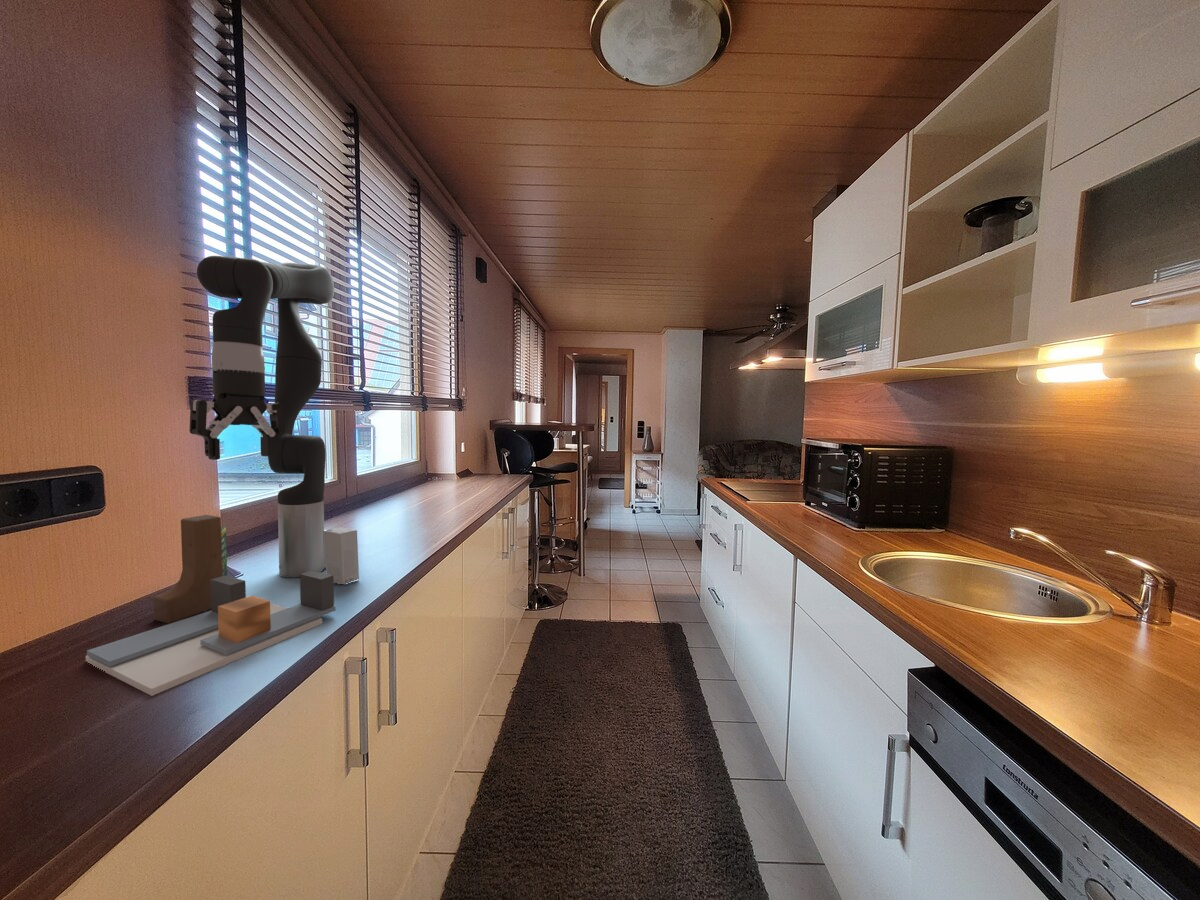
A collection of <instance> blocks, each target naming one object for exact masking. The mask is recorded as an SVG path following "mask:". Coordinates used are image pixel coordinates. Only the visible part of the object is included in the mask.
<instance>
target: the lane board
mask: <svg viewBox="0 0 1200 900" xmlns="http://www.w3.org/2000/svg"><path fill="white" fill-rule="evenodd" d="M287 608H288V607H285V606H282V605H278V604H276V603H272V602H270V615H271V614H273V613H276V612H279V611H282V610H284V609H287ZM322 624H323V618H322V617H319V618H316V619H314V620H311V621H309V622H306V623H304V624H301V625H299V626H297V627H294V628H292V629H289V630H287V631H284V632H282V633H279V634H277V635H275V636H272V637H270V638H267V639H265V640H262V641H260V642H257V643H255V644H252V645H250V646H248V647H245V648H243V649H240V650H238V651H235V652H233V653H230V654H228V655H225V654H222V653H220V652H217V651H215V650H212V649H209V648H207V647H204V646H202V645H200V640H202V639H205V638H208V637H210V636H213V635H216V634H219V630H218V629H215V630H212V631H209V632H206V633H203V634H201V635H198V636H195V637H192V638H189V639H187V640H184V641H181V642H178V643H175V644H172V645H170V646H167V647H164V648H161V649H158V650H156V651H153V652H150V653H147V654H144V655H142V656H139V657H136V658H133V659H130V660H127V661H125V662H122V663H119V664H116V665H113V666H111V667H109V666H107V665H105V664H103V663H101V662H99V661H97V660H95V659H93V658H91V657H89V656H87V655H85V662H86V661H87V662H88V663H90V664H92V665H93V667H94V666H95V668H96V667H97V668H96V669H98V668H99V669H98V670H100V669H101V670H100V671H102V670H103V671H102V672H104V671H105V672H104V673H106V674H108V675H110V676H112V677H113V678H116V679H117V680H119V681H122V682H124V683H126V684H128V685H130V686H132V687H133V688H135V689H138V690H139V691H142V692H143V693H145V694H147V695H150V696H151V697H153V696H155V695H158V694H160V693H162V692H164V691H167V690H169V689H172V688H174V687H176V686H179V685H181V684H183V683H185V682H188V681H190V680H192V679H195V678H197V677H200V676H202V675H204V674H207V673H209V672H212V671H214V670H216V669H219V668H221V667H223V666H226V665H227V664H228V665H229V664H230V663H232V662H235V661H237V660H240V659H242V658H244V657H247V656H249V655H252V654H254V653H257V652H259V651H260V650H263V649H265V648H268V647H270V646H273V645H275V644H277V643H279V642H282V641H284V640H287V639H289V638H292V637H294V636H296V635H299V634H302V633H304V632H305V631H308V630H310V629H313V628H315V627H318V626H321V625H322ZM88 663H87V664H88ZM90 664H89V665H90ZM92 665H91V666H92Z"/></svg>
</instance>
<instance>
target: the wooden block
mask: <svg viewBox="0 0 1200 900" xmlns="http://www.w3.org/2000/svg"><path fill="white" fill-rule="evenodd" d="M221 520H222V518H221V516H216V515H211V514H210V515H209V514H203V515H202V514H201V515H197V516H190V517H186V518H181V520H180V535H181V536H180V537H181V539H180V540H181V542H180V543H181V559H182V560H181V565H182V567H181V568H182V570H181V572H180V573H181V574H180V577H179V580H178V581H177V582H176V583H175V584H174V585H173V586H172V588H171V589H168V590H167V591H164V592H162V593H159V594H157V595H155V596H153V597H152V601H153V602H152V604H153V619H154V620H155V621H158V622H162V623H165V624H166V625H168V624H171V623H174V622H177V621H180V620H183V619H186V618H190V617H193V616H196V615H199V614H202V613H205V612H208V611H211V579H214V578H218V577H222V576H223V574H222V541H221V527H222V521H221Z"/></svg>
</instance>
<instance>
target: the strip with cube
mask: <svg viewBox="0 0 1200 900" xmlns="http://www.w3.org/2000/svg"><path fill="white" fill-rule="evenodd" d="M299 585H300V587H299V591H300V593H299V595H300V598H299V599H300V603H299V604H295V605H293V606H290V607H286V608H287V609H284V610H282V611H279V612H276V613H273V614H271V615H270V622H271V630H269V631H266V632H263V633H261V634H258V635H256V636H253V637H251V638H248V639H246V640H243V641H241V642H238V643H236V642H233V641H231V640H228V639H225V638H223V637H220V636H219V634H216V635H213V636H210V637H208V638H205V639H202V640H200V645H202V646H204V647H207V648H209V649H212V650H215V651H217V652H220V653H222V654H225V655H228V654H230V653H233V652H235V651H238V650H240V649H243V648H245V647H248V646H250V645H252V644H255V643H257V642H260V641H262V640H265V639H267V638H270V637H272V636H275V635H277V634H279V633H282V632H284V631H287V630H289V629H292V628H294V627H297V626H299V625H301V624H304V623H306V622H309V621H311V620H314V619H316V618H322V617H323V616H326V615H328V614H330V613H333V612H335V611H336V609H337V608H336V605H335V601H334V598H335V597H334V591H335V590H334V587H335V586H334V583H333V575H330V574H327V573H325V572H322V571H321V572H317V571H313V570H312V571H309V572H305V573H302V574H300V577H299Z"/></svg>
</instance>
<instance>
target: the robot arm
mask: <svg viewBox="0 0 1200 900" xmlns="http://www.w3.org/2000/svg"><path fill="white" fill-rule="evenodd" d="M196 275H197V279H198V281H199V283H200V284H201V286H202V287H203V288H204V289H205V290H206V291H207V292H208V293H210V294H212V295H214V296H216V297H219V298H227V299H228V298H229V299H240V301H239V302H238V304H237V305H236V306H233V307H231V308H225V309H219V310H216V311H215V312H214V313H213V315H212V342H213V343H212V352H211V372H212V373H211V379H212V394H213V398H212V400H211V401H209V400H208V401H207V400H204V399H192V400H191V401H190V408H189V409H190V411H189V412H190V413H189V433H190V434H191V435H196V436H199V437H202V438H203V441H204V443H203V444H204V455H205V456H206V457H208V459H209V460H212V461H215V460H220V459H221V440H220V438H218V437H219V436H220V434H221V433H222V432H223V431H224V430H225V429H227V428H228V427H229V426H251V427H253V429H256V431H258V432H259V434H260V435H261V436H260V455H261V456H262V457H267V461H268V466H269V468H270V470H271V471H272V472H274V473H275V474H281V475H282V474H286V475H287V474H291V475H292V474H295V475H298V474H303V479H302V481H301V482H299V483H298V484H296V485H293V486H290V487H289V486H288V487H287V488H283V489H281V490H280V491H278V493H277V518H278V519H277V522H278V523H277V525H278V529H277V531H278V572H279V574H280V575H281V576H280V575H279V576H280V577H283V576H284V578H300V574H302V573H305V572H309V571H312V570H313V571H317V572H320V571H321V570H322V571H323V569H324V568H325V569H327V568H326V549H325V531H326V530H327V529H325V508H324V507H325V505H324V504H325V503H324V501H325V500H324V499H325V498H324V496H325V485H326V483H325V477H326V473H325V472H326V460H327V458H326V457H327V453H326V452H327V451H326V445H325V442H324V439H323V438H322V437H321V436H320V435H319V436H318V435H311V434H310V435H307V434H306V435H305V434H303V435H302V434H293V432H294V427H295V424H296V423H295V422H296V421H297V417H298V415H299V414H300V413H301V411H302V409H303V408H304V407H305V405H306V404H308V402H309V401H310V400H311V398H313V396H314V395H315V394H316V392H317V390H318V389H319V387H320V385H321V382H322V363H323V358H322V355H321V352H320V350H319V348H318V346H317V344H316V343H315V342H314V340H313V339H312V337H311V336H310V334H309V333H308V331H307V329H305V327H304V325H303V322H302V319H301V316H300V304H311V305H327V304H328V303H330V302H331V301H332V300H333V299H334V297H335V296H334V295H335V282H334V279H333V276H332V274H331V273H330V271H329V270H328V269H327V268H326V267H323V266H322V265H317V264H313V263H312V264H309V263H297V262H284V263H281V264H276V263H271V262H266V261H260V260H258V259H254V258H246V257H245V258H244V257H234V256H233V257H232V256H221V255H209V256H207V257H204V258H202V260H201V261H200V262H198V265H197V268H196ZM275 299H277V311H278V312H277V314H278V315H277V317H278V319H277V321H278V322H277V323H278V325H277V329H278V330H277V345H276V354H275V355H276V356H275V371H274V372H275V375H274V376H275V379H274V380H275V382H274V385H275V386H274V388H275V389H274V391H275V392H274V402H270V403H266V401H265V397H266V382H265V381H266V379H265V378H266V377H265V374H266V373H265V372H266V367H265V355H264V350H263V323H264V319H265V316H266V312H267V308H268V305H269V302H270V300H275ZM211 409H212V410H213V411H214V413H215V414H216V415H215V416H214V417H213V418H212V420H210V422H209V424H208V426H207V419H208V418H207V416H208V413H209V412H210V410H211ZM266 412H267V414H268V415H269V421H268V420H267V419H266V418H265V417H264V413H266ZM325 569H324V570H325ZM322 571H321V572H322Z"/></svg>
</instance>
